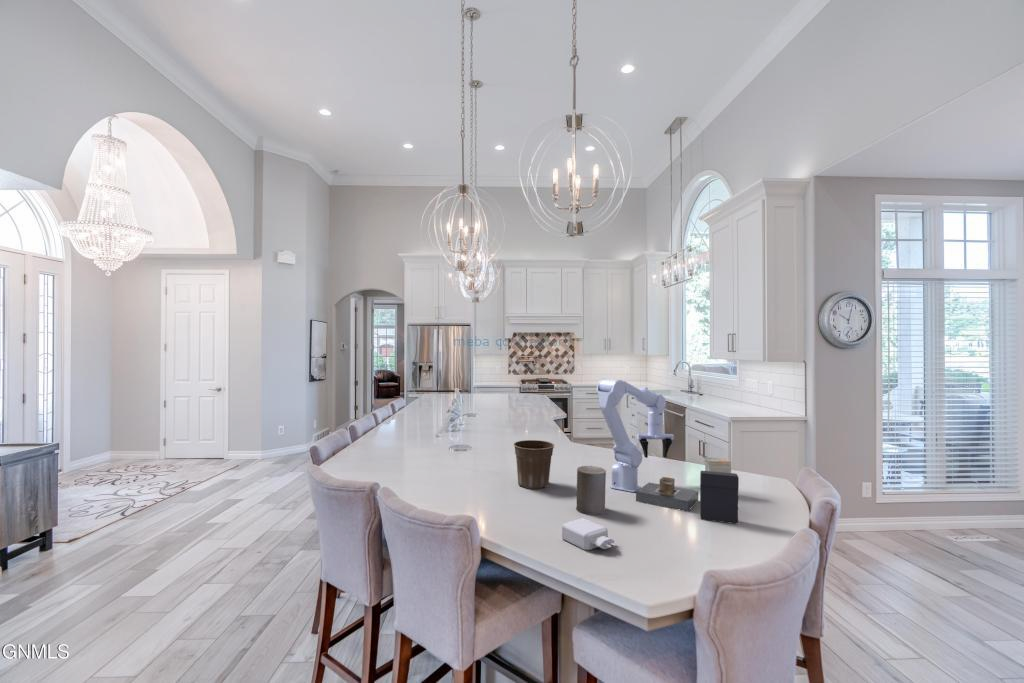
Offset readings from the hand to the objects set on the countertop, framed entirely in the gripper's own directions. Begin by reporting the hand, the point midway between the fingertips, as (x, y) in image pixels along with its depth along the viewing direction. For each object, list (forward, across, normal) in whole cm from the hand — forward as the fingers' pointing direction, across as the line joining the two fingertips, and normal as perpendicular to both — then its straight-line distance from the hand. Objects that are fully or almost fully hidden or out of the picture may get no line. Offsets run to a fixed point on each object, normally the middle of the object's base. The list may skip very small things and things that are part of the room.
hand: (655, 457), depth 193 cm
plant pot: (+10, -50, -3) cm, 51 cm away
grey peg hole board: (+10, -3, -23) cm, 25 cm away
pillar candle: (+10, -33, -32) cm, 47 cm away
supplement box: (+11, +19, -14) cm, 26 cm away
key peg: (+10, -4, -23) cm, 25 cm away
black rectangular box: (+10, +6, -41) cm, 43 cm away
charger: (+10, -38, -60) cm, 72 cm away
